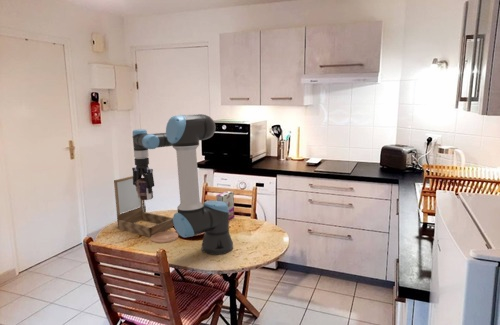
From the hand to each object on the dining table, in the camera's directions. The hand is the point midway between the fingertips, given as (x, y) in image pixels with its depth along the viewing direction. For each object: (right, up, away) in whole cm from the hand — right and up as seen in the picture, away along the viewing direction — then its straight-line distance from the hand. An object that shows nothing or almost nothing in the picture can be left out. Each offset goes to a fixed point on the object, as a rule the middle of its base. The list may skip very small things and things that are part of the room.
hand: (144, 198), depth 197 cm
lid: (-11, -8, +8) cm, 16 cm away
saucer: (+14, -20, -12) cm, 27 cm away
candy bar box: (+44, -15, +15) cm, 49 cm away
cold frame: (0, -17, +3) cm, 17 cm away
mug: (0, -1, 0) cm, 1 cm away
